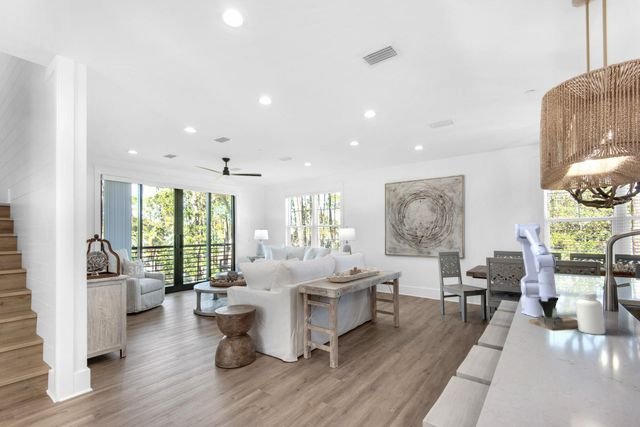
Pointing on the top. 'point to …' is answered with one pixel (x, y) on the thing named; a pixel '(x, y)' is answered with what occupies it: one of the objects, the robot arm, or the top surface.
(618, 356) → the top surface
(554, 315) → the cap
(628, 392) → the top surface
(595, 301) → the pill bottle
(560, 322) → the stud board
